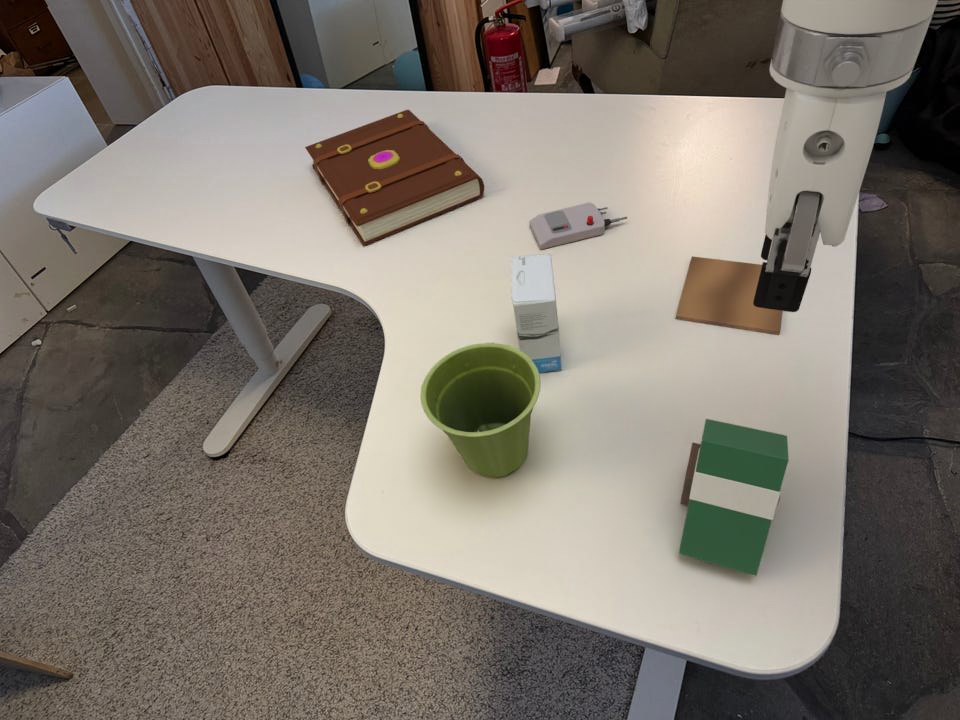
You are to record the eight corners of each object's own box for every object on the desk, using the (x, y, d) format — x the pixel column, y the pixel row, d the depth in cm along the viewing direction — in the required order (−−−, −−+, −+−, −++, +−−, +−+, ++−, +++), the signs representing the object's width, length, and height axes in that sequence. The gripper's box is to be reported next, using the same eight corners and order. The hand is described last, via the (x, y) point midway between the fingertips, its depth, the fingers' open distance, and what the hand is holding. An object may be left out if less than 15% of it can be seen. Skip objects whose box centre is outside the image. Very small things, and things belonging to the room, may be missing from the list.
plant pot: (534, 398, 71) (525, 331, 63) (560, 484, 63) (553, 419, 55) (436, 420, 71) (415, 356, 63) (449, 509, 63) (426, 448, 55)
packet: (691, 482, 61) (707, 406, 52) (763, 500, 58) (792, 424, 49) (676, 561, 56) (690, 492, 47) (753, 584, 53) (784, 516, 44)
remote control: (518, 228, 94) (516, 212, 92) (615, 204, 94) (615, 188, 92) (528, 253, 89) (526, 236, 87) (630, 228, 90) (631, 211, 88)
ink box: (562, 371, 73) (557, 299, 65) (521, 375, 74) (511, 304, 65) (557, 322, 79) (551, 250, 70) (519, 326, 79) (509, 255, 71)
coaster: (786, 271, 79) (787, 267, 78) (779, 334, 72) (780, 331, 71) (691, 259, 83) (691, 256, 83) (675, 318, 76) (675, 315, 76)
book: (362, 247, 97) (352, 221, 93) (311, 167, 117) (302, 143, 114) (487, 196, 101) (482, 169, 98) (417, 128, 122) (411, 103, 118)
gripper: (931, 118, 29) (826, 369, 42) (913, -12, 39) (834, 224, 52) (759, 112, 31) (713, 350, 44) (785, -8, 41) (740, 216, 54)
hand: (778, 280), depth 48 cm, fingers open, 5 cm apart
